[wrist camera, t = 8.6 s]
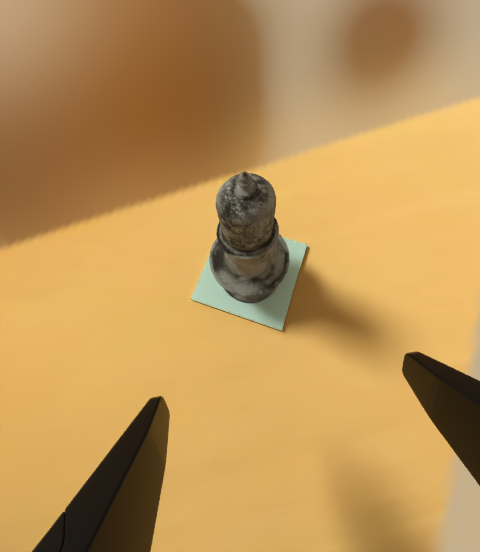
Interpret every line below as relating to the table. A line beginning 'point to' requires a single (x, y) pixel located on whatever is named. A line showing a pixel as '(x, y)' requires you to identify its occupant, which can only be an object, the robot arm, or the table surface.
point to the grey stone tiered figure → (248, 240)
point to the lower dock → (260, 312)
